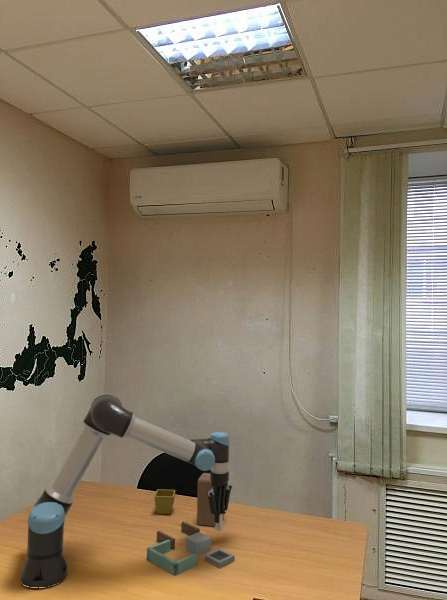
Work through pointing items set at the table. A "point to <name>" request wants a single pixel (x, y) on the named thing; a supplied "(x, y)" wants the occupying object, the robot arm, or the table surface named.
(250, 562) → the table surface
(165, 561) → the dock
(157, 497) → the flower pot
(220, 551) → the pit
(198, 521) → the wooden block
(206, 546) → the block
